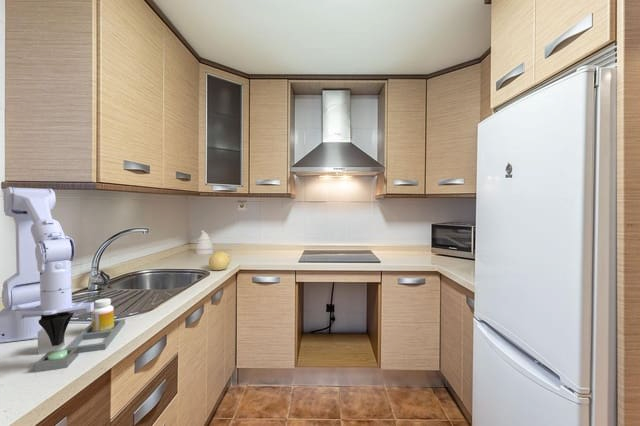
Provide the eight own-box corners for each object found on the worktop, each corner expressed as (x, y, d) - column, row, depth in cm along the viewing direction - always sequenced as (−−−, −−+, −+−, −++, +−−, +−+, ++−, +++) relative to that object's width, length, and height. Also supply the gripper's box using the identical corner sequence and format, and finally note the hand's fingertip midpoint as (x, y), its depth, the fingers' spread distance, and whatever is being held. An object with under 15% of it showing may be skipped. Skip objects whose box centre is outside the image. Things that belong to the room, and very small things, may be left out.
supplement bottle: (118, 327, 93) (117, 297, 93) (106, 335, 87) (105, 303, 87) (100, 328, 93) (100, 297, 92) (87, 335, 87) (87, 303, 87)
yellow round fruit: (233, 268, 181) (233, 250, 181) (220, 272, 170) (220, 253, 169) (218, 266, 185) (218, 249, 184) (204, 270, 173) (204, 252, 173)
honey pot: (192, 253, 235) (192, 231, 234) (203, 251, 247) (203, 229, 246) (205, 254, 231) (205, 231, 230) (216, 252, 243) (216, 230, 242)
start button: (44, 366, 70) (44, 357, 70) (52, 358, 73) (52, 350, 73) (63, 363, 71) (63, 355, 71) (70, 356, 74) (70, 348, 74)
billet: (38, 354, 76) (37, 331, 76) (46, 347, 80) (45, 325, 80) (57, 352, 78) (56, 329, 77) (64, 345, 81) (64, 323, 81)
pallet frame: (64, 354, 76) (64, 349, 76) (91, 327, 93) (91, 322, 93) (105, 349, 79) (105, 343, 79) (124, 323, 96) (124, 319, 96)
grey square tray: (35, 372, 68) (35, 363, 68) (49, 359, 74) (48, 351, 74) (67, 367, 70) (66, 359, 70) (78, 355, 76) (78, 347, 76)
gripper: (6, 296, 65) (8, 356, 66) (85, 290, 70) (86, 346, 70) (25, 288, 72) (27, 343, 72) (96, 282, 77) (97, 334, 77)
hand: (57, 343), depth 72 cm, fingers closed
